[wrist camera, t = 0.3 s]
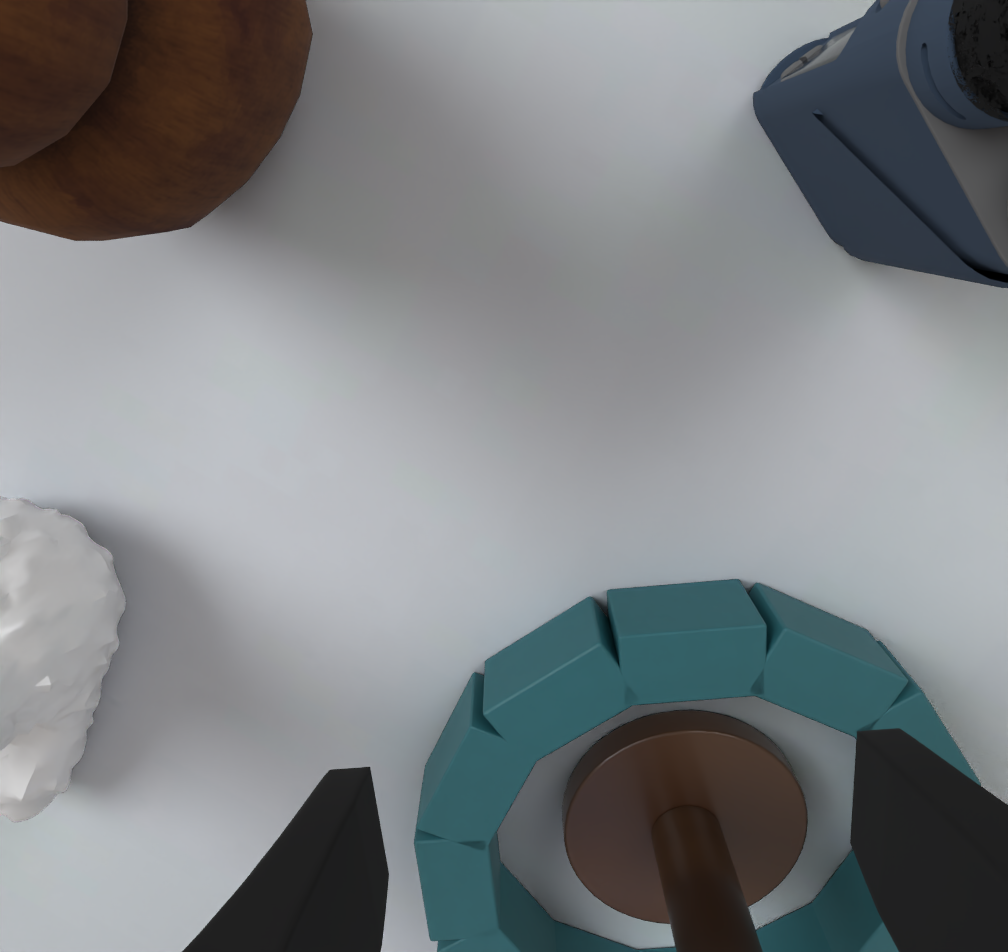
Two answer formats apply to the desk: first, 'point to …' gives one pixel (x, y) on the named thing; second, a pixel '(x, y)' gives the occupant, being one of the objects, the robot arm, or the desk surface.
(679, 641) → the hoop
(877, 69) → the vaping device
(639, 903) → the hanging post
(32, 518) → the white creature statuette
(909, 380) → the desk surface
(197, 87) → the wooden figurine
